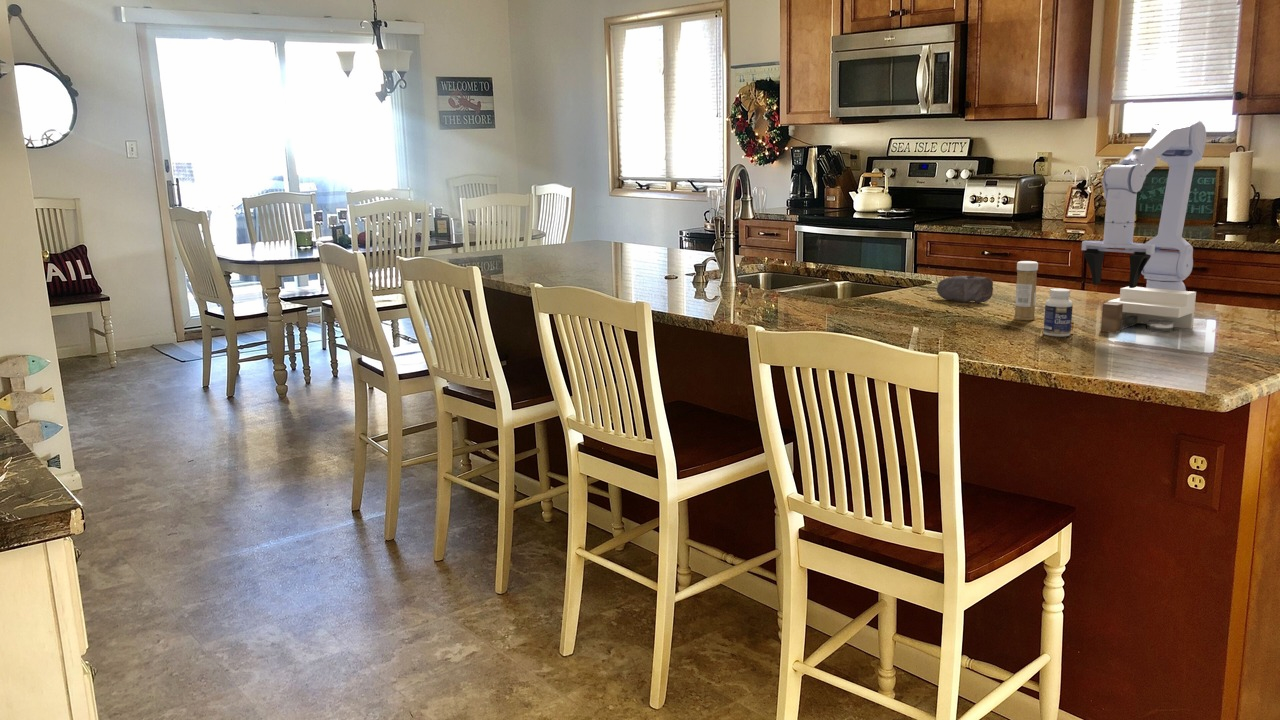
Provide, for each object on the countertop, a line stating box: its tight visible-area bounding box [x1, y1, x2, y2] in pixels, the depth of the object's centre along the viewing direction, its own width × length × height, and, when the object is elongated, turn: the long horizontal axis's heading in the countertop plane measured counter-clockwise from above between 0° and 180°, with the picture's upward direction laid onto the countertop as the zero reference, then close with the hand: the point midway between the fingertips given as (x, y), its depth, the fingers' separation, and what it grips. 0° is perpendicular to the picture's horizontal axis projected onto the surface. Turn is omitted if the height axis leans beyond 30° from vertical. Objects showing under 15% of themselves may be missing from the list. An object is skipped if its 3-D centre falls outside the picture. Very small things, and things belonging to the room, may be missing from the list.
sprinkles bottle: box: [1013, 260, 1039, 322], centre depth 233 cm, size 5×5×13 cm
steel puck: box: [1146, 320, 1174, 333], centre depth 219 cm, size 5×5×2 cm
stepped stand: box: [1106, 285, 1197, 330], centre depth 222 cm, size 9×15×8 cm, turn 42°
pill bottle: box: [1042, 287, 1074, 338], centre depth 215 cm, size 5×5×10 cm
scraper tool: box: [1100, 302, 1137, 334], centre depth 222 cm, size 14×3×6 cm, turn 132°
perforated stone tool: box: [936, 275, 994, 304], centre depth 260 cm, size 15×5×7 cm, turn 41°
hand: (1114, 285), depth 217 cm, fingers open, 7 cm apart
